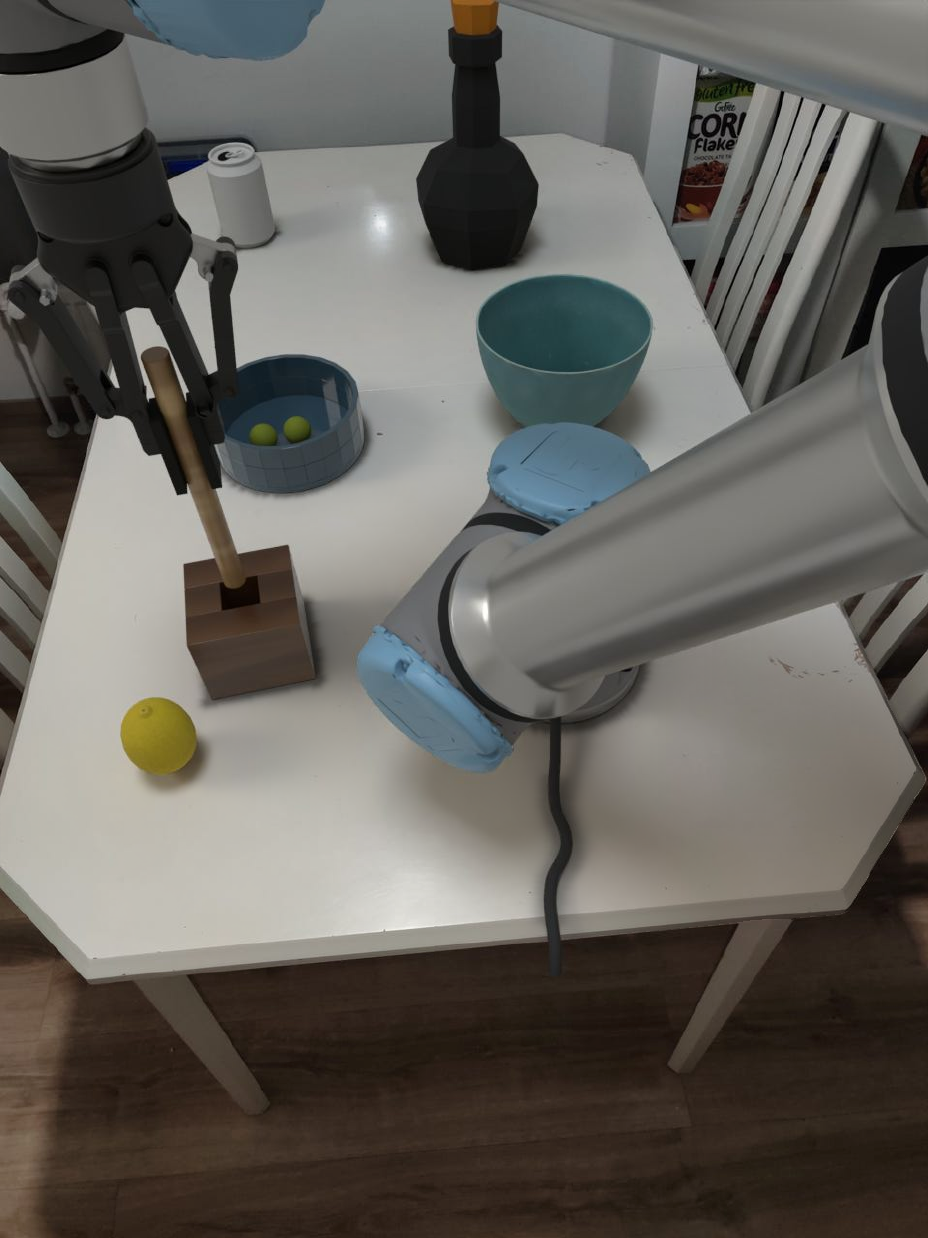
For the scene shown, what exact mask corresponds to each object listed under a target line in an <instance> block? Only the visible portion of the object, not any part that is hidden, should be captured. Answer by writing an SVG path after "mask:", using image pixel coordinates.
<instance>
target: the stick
mask: <svg viewBox="0 0 928 1238" xmlns="http://www.w3.org/2000/svg"><path fill="white" fill-rule="evenodd" d="M171 355H172V354H171V351H170V349H169V348H167V347H165V346H159V345H157V346H151V347H148V348H146V349H145V350H143V351H142V352H141V355H140V361H141V363H142V366H143V369H144V371H145V374H146V377H147V379H148V382H149V385H150V387H151V391H152V393H153V395H154V398H156V401H157V404H158V406H159V409H160V412H161V414H162V417H163V420H164V422H165V425H166V428H167V430H168V433H169V436H170V439H171V441H172V444H173V447H174V449H175V452H176V455H177V457H178V460H179V463H180V466H181V468H182V471H183V474H184V476H185V479H186V482H187V488H188V490H189V493H190V495H191V498H192V501H193V504H194V507H195V508H196V511H197V514H198V516H199V520H200V523H201V525H202V527H203V531H204V533H205V536H206V538H207V540H208V544H209V546H210V550H211V552H212V555H213V558H215V560H216V563H217V565H218V568H219V571H220V574H221V576H222V579H223V582H224V584H225V586H226V587H228V588H231V589H235V588H239V587H241V586H242V585H243V584H244V583H245V580H246V577H245V574H244V571H243V568H242V565H241V562H240V559H239V556H238V554H239V553H238V551H237V548H236V544H235V542H234V539H233V536H232V533H231V529H230V527H229V524H228V522H227V518H226V516H225V512H224V509H223V506H222V504H221V500H220V498H219V494H218V491H217V489H212V488H211V486H210V483H209V480H208V477H207V474H206V471H205V468H204V465H203V462H202V459H201V456H200V453H199V451H198V448H197V445H196V442H195V439H194V436H193V433H192V430H191V427H190V424H189V421H188V418H187V403H186V396H185V394H184V391H183V388H182V385H181V382H180V379H179V376H178V374H177V373H178V372H177V370H176V368H175V367H176V366H175V364H174V362H173V359H172V358H173V357H172V356H171Z"/></svg>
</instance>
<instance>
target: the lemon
mask: <svg viewBox="0 0 928 1238" xmlns="http://www.w3.org/2000/svg"><path fill="white" fill-rule="evenodd" d="M119 731H120V732H119V733H120V734H119V735H120V740H121V741H120V742H121V745H122V748H123V751H124V753H125V755H126V756H127V758H128V759H129V761H130V763H132V764H133V765H134V766H135V767H137V768H138V769H139V770H141V771H143V772H145V773H148V774H151V775H161V776H162V775H168V774H171V773H174V772H177V771H178V770H180V769H182V768H184V767H185V766H186V765H187V764H188V763H189V761H190V760H191V759H192V758H193V755H194V753H195V751H196V747H197V741H198V737H197V730H196V726H195V724H194V722H193V720H192V718H191V716H190V714H188V712H187V711H186V710H185V709H184V708H183V707H182V706H181V705H180V704H178V703H177V702H175V701H173V700H171V699H169V698H166V697H161V696H159V697H158V696H157V697H155V696H154V697H147V698H144V699H142V700H139V701H137V702H136V703H134V704H133V705H132V706H131V707H129V709H128V710H127V712H126V713H125V714H124V716H123V719H122V721H121V723H120V730H119Z"/></svg>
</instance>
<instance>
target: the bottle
mask: <svg viewBox="0 0 928 1238" xmlns="http://www.w3.org/2000/svg"><path fill="white" fill-rule="evenodd" d="M450 6H451V15H452V22H453V26H451V27H450V28H448V29H447V35H448V36H447V39H448V40H447V43H448V57H449V59H450V60H451V62H452V64H453V65H454V70H453V80H452V88H451V89H452V90H451V116H452V117H451V118H452V120H451V121H452V137H451V138H449V139H447V141H444V142H442V143H440V144H438V145H436V146H434V147H432V148H430V149H429V151H428V153H427V155H426V158H425V159H424V162H423V164H422V165H421V168H420V170H419V172H418V174H417V176H416V178H415V183H416V192H417V200H418V204H419V207H420V211H421V214H422V217H423V220H424V223H425V227H426V228H427V231H428V233H429V236H430V238H431V240H432V243H433V245H434V248H435V250H436V253H437V255H438V257H439V259H440V262H441V263H444V264H448V265H451V266H454V267H458V268H461V269H464V270H467V271H471V272H472V271H479V270H485V269H491V268H492V269H493V268H498V267H499V268H500V267H505V266H507V265H508V264H509V263H510V262H511V261H512V260H513V259H514V258H515V257H516V256H517V255H518V254H519V253H521V251H522V248H523V246H524V243H525V241H526V237H527V235H528V232H529V231H530V227H531V224H532V221H533V219H534V216H535V213H536V210H537V208H538V199H539V189H540V187H539V186H540V184H539V181H538V180H537V178H536V176H535V174H534V172H533V170H532V168H531V166H530V164H529V162H528V160H527V158H526V156H525V154H524V153H523V151H522V150H521V149H520V148H519V146H518V145H517V144H516V143H515V142H513V141H511V140H510V139H508V138H505V137H504V136H501V94H500V86H499V85H500V84H499V78H498V71H497V65H496V64H497V62H498V61H499V60H501V59H502V58H503V29H502V28H501V27H500V26H499V25H498V16H499V6H500V3H498V2H495V1H492V0H450Z"/></svg>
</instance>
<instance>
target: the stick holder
mask: <svg viewBox="0 0 928 1238" xmlns="http://www.w3.org/2000/svg"><path fill="white" fill-rule="evenodd" d="M237 554H238V556H239V559H240V562H241V565H242V568H243V571H244V574H245V577H246V580H245V583H244V584H243V585H242V586H241V587H239V588H235V589H231V588H228V587H226V586H225V584H224V582H223V579H222V576H221V574H220V571H219V568H218V565H217V563H216V560H215V557H213V558H208V559H207V558H206V559H201V560H196V561H191V562H186V563H183V564H182V569H183V570H182V571H183V591H184V612H185V613H184V614H185V636H186V637H185V639H186V641H185V642H186V647H187V650H188V652H189V654H190V656H191V658H192V660H193V663H194V665H195V667H196V669H197V671H198V673H199V675H200V677H201V680H202V682H203V685H204V686H205V688H206V690H207V692H208V695H209V697H210V699H211V700H218V699H222V698H226V697H227V698H228V697H232V696H237V695H243V694H247V693H252V692H256V691H257V692H258V691H261V690H262V691H263V690H266V689H272V688H276V687H280V686H287V685H291V684H295V683H300V682H301V683H302V682H306V681H311V680H316V672H315V665H314V660H313V659H314V658H313V652H312V646H311V645H312V644H311V640H310V639H311V638H310V633H309V627H308V620H307V614H306V613H307V612H306V607H305V601H304V598H303V593H302V590H301V586H300V582H299V579H298V575H297V571H296V568H295V563H294V560H293V556H292V552H291V549H290V545H289V544H284V545H278V546H272V547H267V548H262V549H257V550H251V551H245V552H240V553H237Z"/></svg>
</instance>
